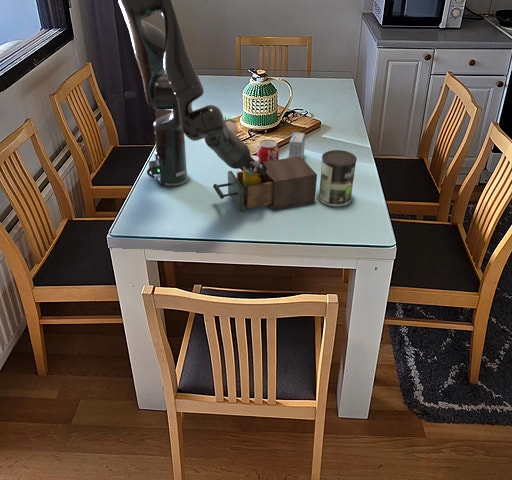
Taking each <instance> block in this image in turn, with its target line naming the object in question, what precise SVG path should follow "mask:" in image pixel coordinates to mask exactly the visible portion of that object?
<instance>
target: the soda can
mask: <svg viewBox="0 0 512 480" xmlns="http://www.w3.org/2000/svg"><path fill="white" fill-rule="evenodd" d="M279 155H280V147H279V146H278V142H277V141H276V140H274V139H262V140H261V141H259V143H258V146H257V149H256V156H257V157H258V158H259V162H260V161H261V162H266V161H273V160H279V159H280V156H279Z"/></svg>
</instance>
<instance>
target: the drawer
mask: <svg viewBox="0 0 512 480" xmlns="http://www.w3.org/2000/svg"><path fill="white" fill-rule="evenodd" d="M223 187H227V193H225V194H224V193H223V191H222V190H221V188H223ZM212 188H213V189H214V191H215V193H216V194H217V196H218V197H219V199H220V200H224V198H227V197H230V199H231V201H232V202H233V204H234V205H235V207H236V208H237V210H238V211H239V212H240V213H244V212H245V207H246V208H247V209H252V208H258V207H264V206H270V204H273V182H272V180H271V179H270V178H269V177H268V175H267V174H266V176H265V178H264V179H261V184H255V185H249V186H247V191H246V190H245V189H244V188H243V171H242V170H240V171H236V175H235V174H234V172H233V171H232V170H228V171H227V183H221V184H217V183H214V184H213V185H212Z"/></svg>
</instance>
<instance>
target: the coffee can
mask: <svg viewBox="0 0 512 480" xmlns="http://www.w3.org/2000/svg"><path fill="white" fill-rule="evenodd" d="M357 160H358V159H357V156H356V155H355V154H354V153H352V152H350V151H346V150H342V149H341V150H340V149H333V150H328V151H325V152H324V153H322V156H321V170H320V180H319V192H318V200H319V201H320V202H321V203H322V204H324V205H326V206H329V207H344V206H347V205H349V204H350V203H351V201H352V194H353V188H354V187H353V186H354V179H355V171H356V165H357Z"/></svg>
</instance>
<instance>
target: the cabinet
mask: <svg viewBox="0 0 512 480" xmlns="http://www.w3.org/2000/svg"><path fill="white" fill-rule="evenodd" d="M263 163H264V164H265V166H266V167H267V170H266V174H267V175H268V177H269V178H270V179H271V180H272V182H273V204H270V205H269V207H270V208H271V209H272V210H273V211H276V210H281V209H287V208H292V207H297V206H304V205H310V204H315V202H316V192H317V181H318V174H317V172H316V171H314V169H313V168H312V167H311V166H310V165H309V164H308V163H307V162H306V160H304V158H303V159H302V158H301V157H300V156H298V157H292V158H289V157H286V158H279V160H273V161H266V162H263Z"/></svg>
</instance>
